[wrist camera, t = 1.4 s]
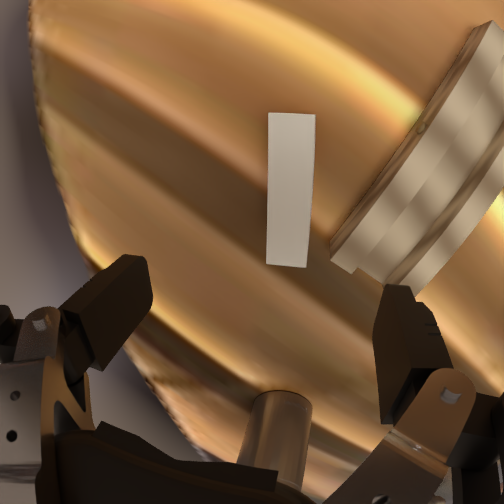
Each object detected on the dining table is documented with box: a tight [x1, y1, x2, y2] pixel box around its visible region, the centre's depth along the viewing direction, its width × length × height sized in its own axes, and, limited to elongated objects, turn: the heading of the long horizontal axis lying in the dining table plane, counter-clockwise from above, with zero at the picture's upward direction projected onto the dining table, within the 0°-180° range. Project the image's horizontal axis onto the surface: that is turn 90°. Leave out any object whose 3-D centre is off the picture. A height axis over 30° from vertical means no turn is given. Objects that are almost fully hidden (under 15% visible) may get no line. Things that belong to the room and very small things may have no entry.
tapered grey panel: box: [266, 113, 316, 268], centre depth 24 cm, size 11×3×8 cm, turn 0°
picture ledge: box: [330, 20, 504, 298], centre depth 21 cm, size 28×10×4 cm, turn 150°
